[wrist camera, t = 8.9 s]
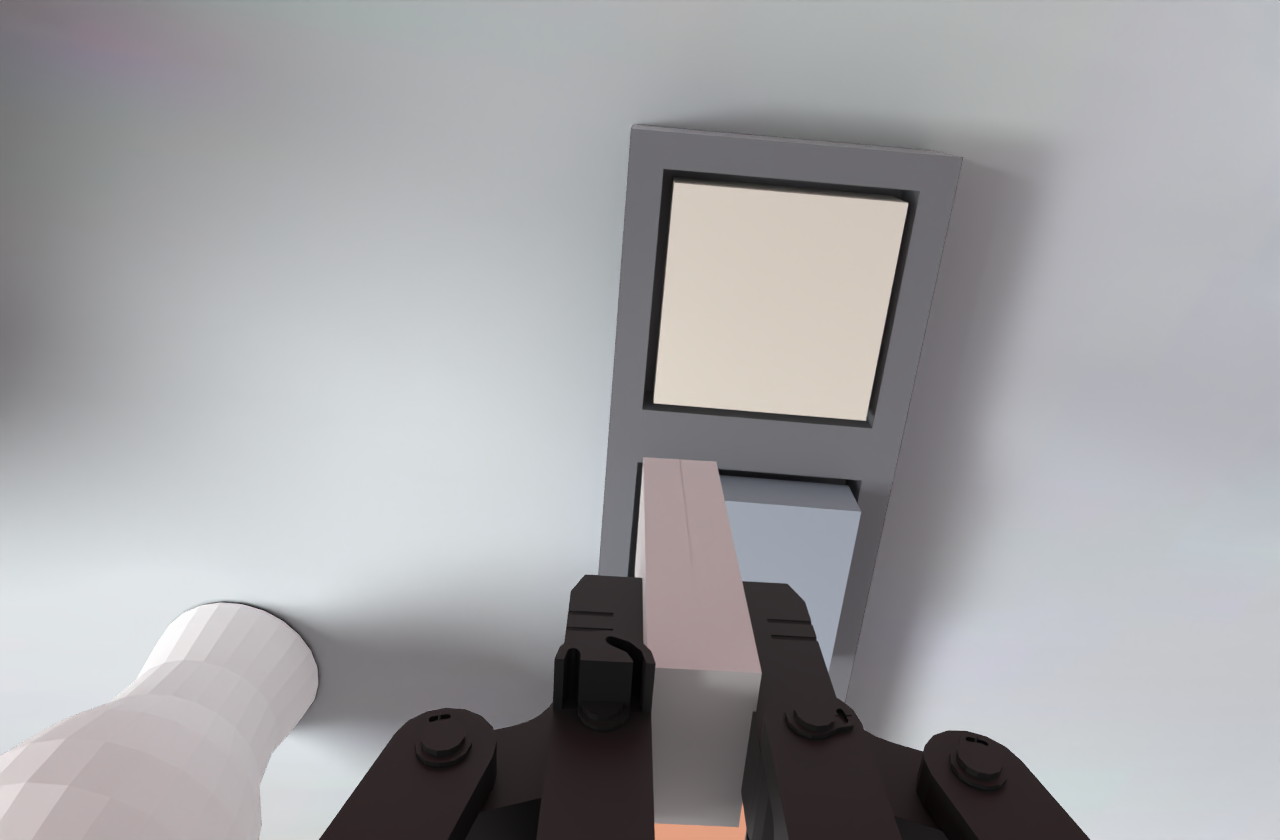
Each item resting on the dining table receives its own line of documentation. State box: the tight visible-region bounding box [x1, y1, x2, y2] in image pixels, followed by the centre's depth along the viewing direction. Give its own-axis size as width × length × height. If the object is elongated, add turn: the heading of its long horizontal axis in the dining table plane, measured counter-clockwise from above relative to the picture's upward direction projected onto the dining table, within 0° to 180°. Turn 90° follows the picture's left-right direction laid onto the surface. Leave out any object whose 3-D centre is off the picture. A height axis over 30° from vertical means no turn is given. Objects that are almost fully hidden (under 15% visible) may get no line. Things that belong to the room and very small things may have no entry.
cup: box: [0, 602, 319, 840], centre depth 34 cm, size 11×11×15 cm
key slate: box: [719, 475, 861, 673], centre depth 33 cm, size 8×8×2 cm
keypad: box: [598, 125, 963, 703], centre depth 36 cm, size 33×11×4 cm, turn 175°
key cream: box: [654, 177, 908, 421], centre depth 31 cm, size 8×8×2 cm
